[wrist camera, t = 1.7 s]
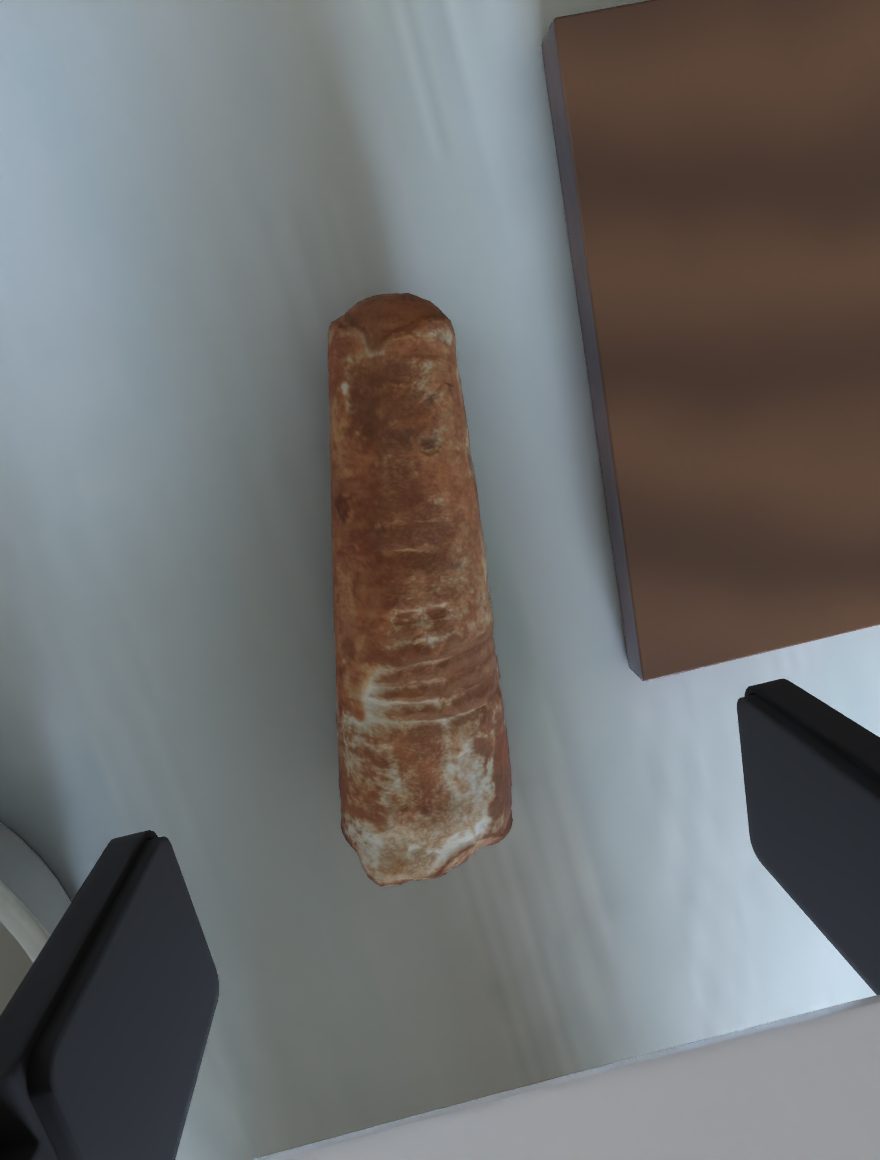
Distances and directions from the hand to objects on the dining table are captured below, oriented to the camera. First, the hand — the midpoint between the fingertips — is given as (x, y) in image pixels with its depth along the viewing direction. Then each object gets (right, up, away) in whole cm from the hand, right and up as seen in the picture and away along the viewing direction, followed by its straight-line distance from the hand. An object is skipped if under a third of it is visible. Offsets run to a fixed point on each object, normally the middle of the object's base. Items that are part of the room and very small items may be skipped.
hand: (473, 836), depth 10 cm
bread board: (+11, +12, +14) cm, 22 cm away
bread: (-2, +4, +14) cm, 15 cm away
